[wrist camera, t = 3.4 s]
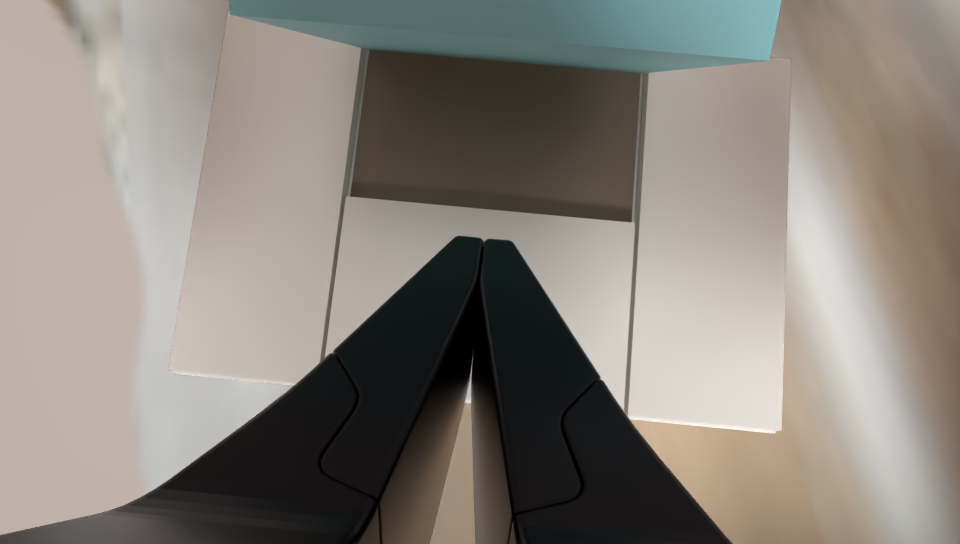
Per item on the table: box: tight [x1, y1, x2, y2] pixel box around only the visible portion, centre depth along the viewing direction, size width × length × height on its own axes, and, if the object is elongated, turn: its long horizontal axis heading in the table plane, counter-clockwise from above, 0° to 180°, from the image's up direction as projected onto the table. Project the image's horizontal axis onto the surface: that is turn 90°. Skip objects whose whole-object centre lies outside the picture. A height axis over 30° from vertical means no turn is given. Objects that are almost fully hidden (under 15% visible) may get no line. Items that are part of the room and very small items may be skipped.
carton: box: [168, 11, 791, 434], centre depth 17 cm, size 9×14×4 cm, turn 84°
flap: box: [230, 0, 782, 73], centre depth 12 cm, size 1×7×8 cm, turn 85°
